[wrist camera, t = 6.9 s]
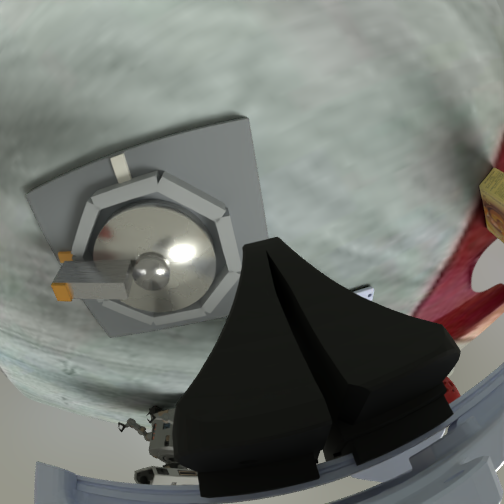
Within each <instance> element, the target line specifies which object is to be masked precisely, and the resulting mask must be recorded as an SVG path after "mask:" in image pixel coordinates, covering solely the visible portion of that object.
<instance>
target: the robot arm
mask: <svg viewBox="0 0 504 504" xmlns="http://www.w3.org/2000/svg"><path fill="white" fill-rule="evenodd" d="M242 250H243V259H242V268H241V273H240V278H239V283H238V287H237V291H236V294H235V298H234V301H233V304H232V307H231V310H230V313H229V315H228V318H227V320H226V323H225V325H224V327H223V330H222V332H221V334H220V336H219V338H218V340H217V342H216V344H215V346H214V348H213V350H212V352H211V354H210V355H209V357H208V359H207V360H206V362H205V364H204V365H203V367H202V369H201V370H200V372H199V374H198V375H197V377H196V378H195V380H194V381H193V382H192V384H191V385H190V386H189V388H188V389H187V391H186V392H185V393H184V395H183V396H182V397H181V399H180V400H179V401H178V403H177V404H176V408H175V414H174V420H173V429H172V440H173V452H174V460H175V461H176V462H177V463H179V464H180V465H182V466H184V467H186V468H189V469H191V470H194V471H196V472H197V474H198V482H199V485H148V484H132V483H124V482H115V481H108V480H100V479H95V478H89V477H85V476H80V475H76V474H74V473H72V472H70V471H68V470H65V469H62V468H59V467H56V466H52V465H49V464H45V463H42V462H39V461H38V462H36V472H35V494H34V495H35V496H34V497H35V498H34V499H35V500H34V501H35V503H34V504H222V503H233V502H242V501H250V500H257V499H263V498H269V497H275V496H279V495H285V494H289V493H293V492H297V491H302V490H306V489H309V488H313V487H316V486H320V485H324V484H327V483H330V482H333V481H336V480H339V479H342V478H345V477H348V476H350V475H351V477H353V478H357V479H363V480H370V481H377V482H383V483H381V484H379V485H376V486H374V487H372V488H369V489H366V490H364V491H361V492H358V493H356V494H353V495H350V496H347V497H345V498H341V499H338V500H336V501H332V502H329V503H326V504H501V500H502V495H503V489H502V487H501V484H500V481H499V478H498V476H497V473H496V471H497V470H498V469H499V468H500V467H501V466H502V464H503V463H504V363H503V364H501V365H500V366H499V367H498V368H497V369H496V370H494V371H493V372H492V373H491V374H489V375H488V376H487V377H486V378H485V379H483V380H482V381H481V382H480V383H478V384H477V385H475V386H474V387H473V388H471V389H470V390H469V391H467V392H466V393H465V394H463V395H462V396H460V397H459V398H457V399H456V400H454V401H453V402H451V403H450V404H448V402H447V400H446V398H445V396H444V394H445V393H446V392H447V389H446V387H445V385H444V383H443V380H444V379H445V378H446V377H447V375H448V374H449V373H450V371H451V370H452V369H453V367H454V366H455V365H456V363H457V361H458V360H459V357H460V349H459V347H458V346H457V344H456V343H455V341H454V340H453V338H452V337H451V336H450V334H449V333H448V332H447V330H446V329H445V328H444V327H443V326H442V325H441V324H437V323H433V322H430V321H426V320H422V319H418V318H415V317H411V316H408V315H405V314H403V313H400V312H397V311H394V310H391V309H389V308H386V307H384V306H381V305H379V304H377V303H375V302H372V299H373V294H374V288H373V287H372V286H370V287H367V288H363V289H360V290H357V291H354V292H352V291H350V290H348V289H346V288H345V287H343V286H341V285H339V284H338V283H336V282H335V281H333V280H332V279H330V278H329V277H327V276H326V275H324V274H323V273H321V272H320V271H319V270H317V269H316V268H314V267H313V266H312V265H311V264H309V263H308V262H307V261H305V260H304V259H303V258H302V257H300V256H299V255H298V254H297V253H296V252H294V251H293V250H292V249H291V248H290V247H289V246H288V245H286V244H285V243H284V242H283V241H282V240H281V239H280V238H278V237H274V238H270V239H266V240H261V241H257V242H253V243H248V244H245V245H244V246H243V247H242ZM449 425H450V426H449ZM448 426H449V428H448V433H447V434H446V435H445V436H443V434H444V432H445V430H446V427H448ZM442 436H443V437H442ZM320 450H323V452H324V456H325V459H326V462H324V463H320V464H317V463H318V456H319V453H320ZM316 464H317V465H316Z"/></svg>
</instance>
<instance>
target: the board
mask: <svg viewBox="0 0 504 504" xmlns="http://www.w3.org/2000/svg"><path fill="white" fill-rule="evenodd" d="M26 197H27V199H28V202H29V204H30V206H31V208H32V211H33V213H34V215H35V217H36V219H37V221H38V224H39V226H40V228H41V230H42V232H43V234H44V236H45V238H46V239H47V241H48V243H49V245H50V247H51V249H52V251H53V252H54V254H55V256H56V258H57V260H58V261H59V263H60V265H61V266H62V265H63V263H64V261H88V260H93V251H94V245H95V241H96V239H97V237H98V235H99V233H100V231H101V229H102V228H103V226H104V224H105V223H106V221H107V220H108V219H109V217H110V216H111V215H112V214H113V213H114V212H116V211H117V210H118V209H120V208H122V207H123V206H125V205H127V204H130V203H132V202H136V201H141V200H162V201H167V202H171V203H174V204H177V205H179V206H181V207H183V208H185V209H187V210H189V211H190V212H191V213H193V214H194V215H195V216H197V217H198V218H199V219H200V220H201V221H202V223H203V224H204V225H205V227H206V228H207V230H208V231H209V233H210V235H211V238H212V240H213V244H214V249H215V259H216V271H215V276H214V279H213V282H212V284H211V286H210V288H209V289H208V291H207V292H206V293H205V294H204V295H203V296H202V297H201V298H200V299H199V300H197V301H196V302H195V303H193V304H191V305H189V306H187V307H185V308H182V309H179V310H175V311H170V312H150V311H144V310H140V309H137V308H134V307H131V306H129V305H127V304H125V303H123V302H122V301H120V300H118V299H82V300H83V301H84V303H85V304H86V306H87V307H88V309H89V310H90V311H91V313H92V314H93V316H94V317H95V318H96V320H97V321H98V322H99V324H100V325H101V326H102V328H103V329H104V330H105V332H106V333H107V334H108V336H109V337H110V338H112V337H119V336H125V335H132V334H138V333H144V332H150V331H155V330H161V329H167V328H172V327H177V326H182V325H188V324H193V323H198V322H202V321H207V320H212V319H217V318H221V317H226V316H228V315H229V313H230V310H231V307H232V304H233V301H234V298H235V294H236V291H237V287H238V283H239V278H240V273H241V268H242V259H243V250H242V247H243V246H244V245H245V244H248V243H253V242H257V241H261V240H266V239H269V238H268V232H267V225H266V219H265V213H264V206H263V200H262V194H261V188H260V182H259V176H258V170H257V164H256V158H255V152H254V146H253V140H252V134H251V129H250V123H249V118H247V117H244V118H238V119H233V120H228V121H223V122H219V123H214V124H210V125H205V126H201V127H197V128H193V129H189V130H185V131H182V132H178V133H174V134H171V135H167V136H164V137H160V138H157V139H154V140H151V141H147V142H144V143H141V144H138V145H135V146H132V147H129V148H126V149H124V150H121V151H118V152H115V153H113V154H110V155H107V156H105V157H102V158H100V159H97V160H95V161H92V162H90V163H87V164H85V165H83V166H80V167H78V168H76V169H73V170H71V171H69V172H67V173H64V174H62V175H60V176H58V177H56V178H54V179H52V180H50V181H48V182H46V183H44V184H42V185H40V186H38V187H36V188H34V189H32V190H31V191H30V192H28V193H27V194H26Z"/></svg>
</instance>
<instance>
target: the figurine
mask: <svg viewBox="0 0 504 504" xmlns="http://www.w3.org/2000/svg"><path fill="white" fill-rule="evenodd" d="M149 411H150V412H149V413H148V414H147V415H149V414H150V415H151V421H149V420H148V419H147V420H148V421H149V423H152V432H150V433H147V432H146V431H145V430H146V428H145V427H143V426H140V425H139V424H137V423H136V421H135V420H134V419H132V418H129V419H128V421H127V424H125V425H124V424H122V423H119V422H118V425H122V426H123V428H122V430H121V429H119V430H120V431H121V432H122V431H123V430H124V428H126V427H129V426H130V427H131V428H134V429H135V430H137V431H138V433H139V434H140V435H143V436H144V438H145V440H146V441H150V446H149V453H150V455H152V456H153V457H155V458H158V459H160V460H161V461H163V462H165V463H166V465H164V466H163V467H155V466H151V467H147V468H143V469H140V470H137V471H135V475H134V480H135V481H136V483H137V484H148V485H199V482H198V474H197V472H196V471H194V470H191V469H187V468H186V467H184V466H182V465H180V464H179V463H177V462H176V461H175V460H174V452H173V440H172V429H173V420H174V414H175V408H173V409H170V410H169V409H168V410H165V411H162V409H161V408H158V407H157V406H155V407H152V408H150V409H149ZM147 415H146V416H147Z"/></svg>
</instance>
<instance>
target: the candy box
mask: <svg viewBox="0 0 504 504" xmlns="http://www.w3.org/2000/svg"><path fill="white" fill-rule="evenodd" d="M479 188H480V192H481V197H482V201H483V207H484V212H485V218H486V225H487V229H488V230H489V231H490V232H491V233H493V234H494V235H495V236H496V237H497V238H498V239H500V240H501V241H502V242H503V243H504V173H503V172H501V171H500V170H498V169H496V168H493V169H492V170H491V171H490V173H489V174H488V175H487V177H486V178H485V179H484V180H483V181H482V183H481V184H480V185H479Z"/></svg>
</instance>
